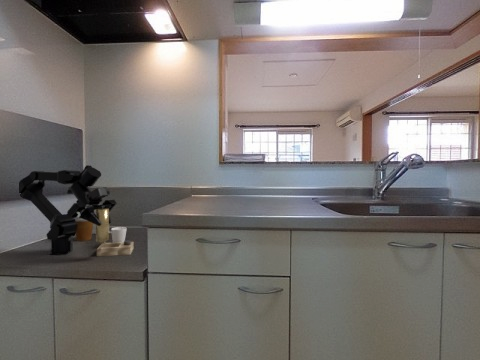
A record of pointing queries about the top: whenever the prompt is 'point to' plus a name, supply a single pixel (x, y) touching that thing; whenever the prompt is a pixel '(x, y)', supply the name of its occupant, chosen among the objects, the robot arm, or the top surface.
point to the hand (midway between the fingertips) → (105, 224)
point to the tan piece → (102, 225)
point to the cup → (118, 234)
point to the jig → (115, 248)
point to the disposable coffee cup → (83, 229)
